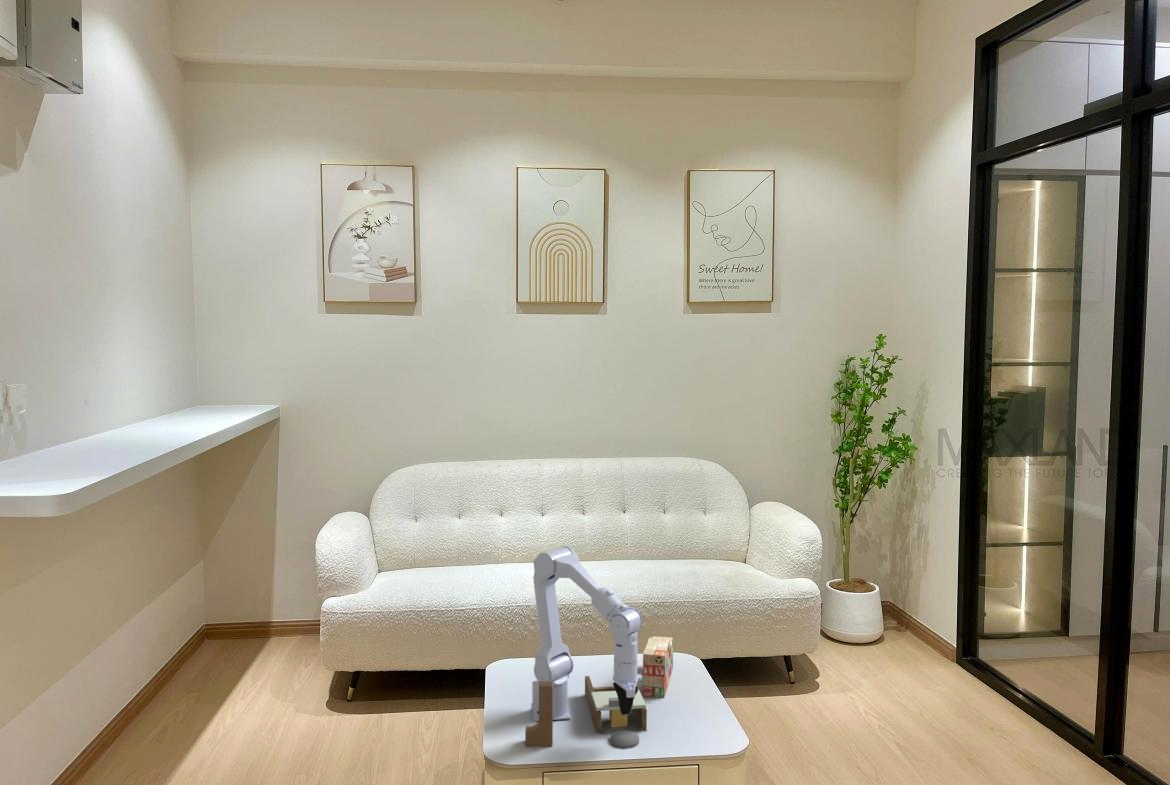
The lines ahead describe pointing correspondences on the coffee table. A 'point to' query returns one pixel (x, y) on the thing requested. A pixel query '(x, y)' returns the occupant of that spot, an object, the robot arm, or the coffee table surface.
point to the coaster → (624, 739)
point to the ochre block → (617, 718)
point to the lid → (614, 701)
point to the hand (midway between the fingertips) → (625, 713)
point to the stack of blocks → (657, 666)
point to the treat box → (596, 715)
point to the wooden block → (542, 718)
